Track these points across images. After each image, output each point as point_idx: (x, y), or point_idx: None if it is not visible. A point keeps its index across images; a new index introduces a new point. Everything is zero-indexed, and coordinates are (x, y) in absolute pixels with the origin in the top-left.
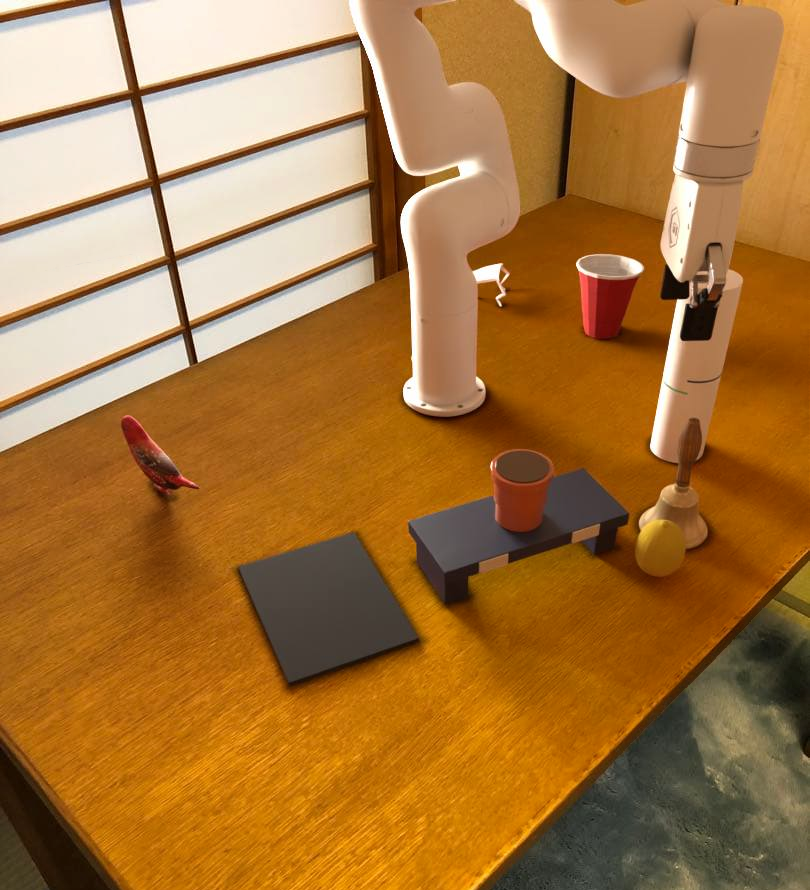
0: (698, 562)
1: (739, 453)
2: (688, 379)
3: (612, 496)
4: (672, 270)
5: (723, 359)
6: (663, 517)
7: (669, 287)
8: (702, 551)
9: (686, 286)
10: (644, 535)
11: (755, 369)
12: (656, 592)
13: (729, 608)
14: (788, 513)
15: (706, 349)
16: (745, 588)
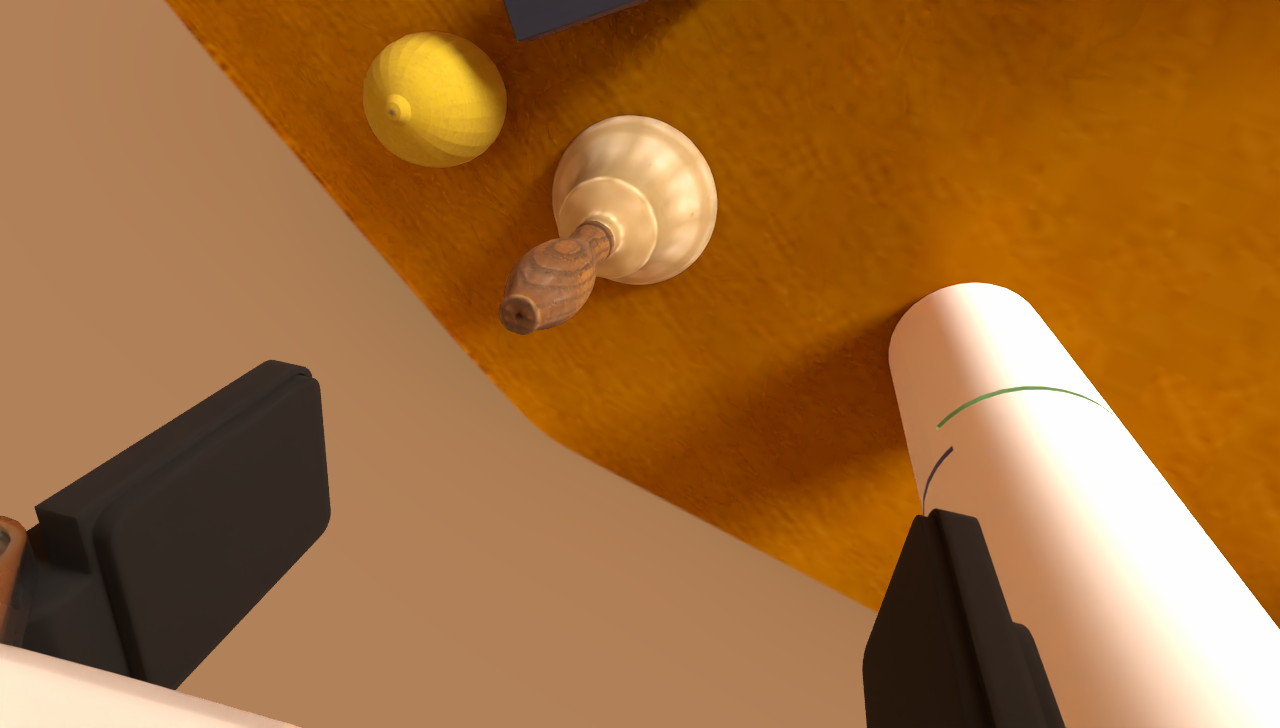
0: (510, 213)
1: (887, 482)
2: (952, 454)
3: (601, 12)
4: (42, 707)
5: None
6: (589, 168)
7: (917, 615)
8: (545, 237)
9: (874, 723)
10: (403, 47)
11: None
12: None
13: (373, 216)
14: (645, 465)
15: None
16: (428, 274)
